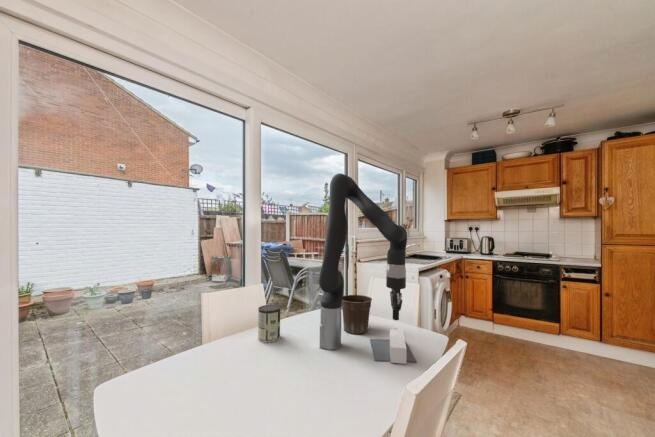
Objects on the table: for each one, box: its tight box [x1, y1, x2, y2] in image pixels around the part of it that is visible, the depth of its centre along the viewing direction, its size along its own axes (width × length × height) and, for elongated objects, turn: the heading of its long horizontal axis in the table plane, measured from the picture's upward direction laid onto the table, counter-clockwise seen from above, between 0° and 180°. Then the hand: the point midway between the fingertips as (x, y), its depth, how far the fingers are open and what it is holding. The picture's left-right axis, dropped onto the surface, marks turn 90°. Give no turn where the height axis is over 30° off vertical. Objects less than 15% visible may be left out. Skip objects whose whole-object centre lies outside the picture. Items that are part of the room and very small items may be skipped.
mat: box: [369, 338, 418, 364], centre depth 120 cm, size 16×21×1 cm
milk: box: [389, 328, 407, 365], centre depth 119 cm, size 6×6×22 cm
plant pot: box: [341, 294, 373, 335], centre depth 144 cm, size 16×16×16 cm
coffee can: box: [257, 304, 281, 343], centre depth 132 cm, size 10×10×14 cm
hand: (395, 319), depth 111 cm, fingers closed
